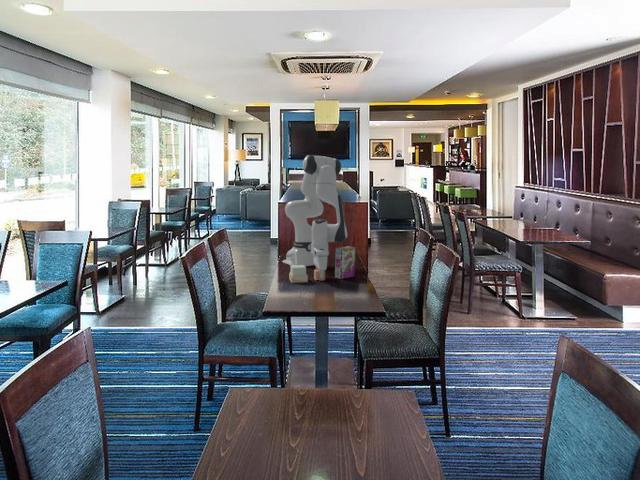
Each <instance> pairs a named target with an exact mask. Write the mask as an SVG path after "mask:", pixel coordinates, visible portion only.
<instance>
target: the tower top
mask: <svg viewBox="0 0 640 480" xmlns="http://www.w3.org/2000/svg"><path fill="white" fill-rule="evenodd" d="M289 267H290V273H291V274H292V275H306V274H307V266H304V265H289Z"/></svg>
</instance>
